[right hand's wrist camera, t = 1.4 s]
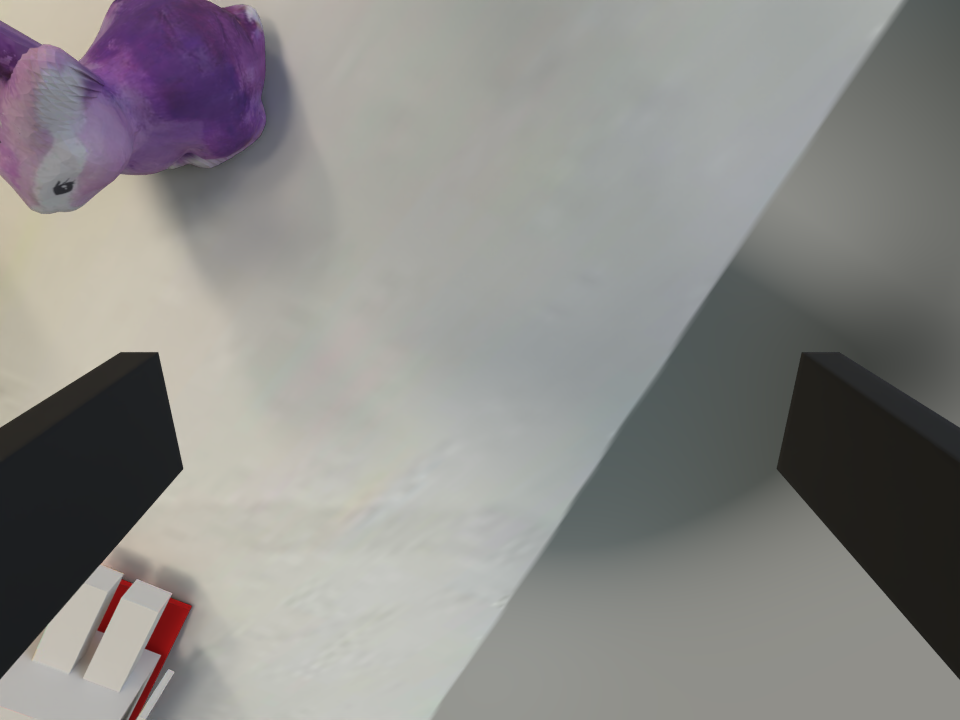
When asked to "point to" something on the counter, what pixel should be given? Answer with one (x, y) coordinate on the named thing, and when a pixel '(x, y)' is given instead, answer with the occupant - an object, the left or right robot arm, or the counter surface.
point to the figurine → (129, 99)
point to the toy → (97, 654)
